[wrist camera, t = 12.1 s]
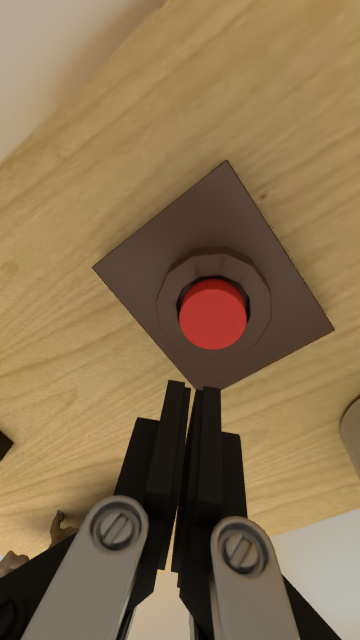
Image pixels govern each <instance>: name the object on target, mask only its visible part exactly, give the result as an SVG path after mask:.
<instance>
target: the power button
mask: <svg viewBox="0 0 360 640" xmlns="http://www.w3.org/2000/svg"><path fill="white" fill-rule="evenodd" d="M246 322H247V317H246V310H245V304H244V300H243V297H242V295H241V293H240V292H239V291H238V289H237V288H236V287H235V286H233V285H232V284H231V283H229V282H227V281H224V280H220V279H206V280H203V281H200V282H198V283H196V284H195V285H193V286H192V287H191V288H190V289H189V290H188V291H187V293H186V295H185V296H184V299H183V303H182V306H181V310H180V314H179V323H180V327H181V330H182V332H183V334H184V335H185V337H186V338H187V339H188V340H189V341H190V342H192V343H193V344H195V345H196V346H198V347H201V348H204V349H211V350H216V349H222V348H225V347H228V346H230V345H232V344H233V343H235V342H236V341H237V340H238V339H239V338H240V337H241V335H242V334H243V332H244V330H245V327H246Z"/></svg>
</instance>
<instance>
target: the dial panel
mask: <svg viewBox="0 0 360 640" xmlns="http://www.w3.org/2000/svg"><path fill="white" fill-rule="evenodd" d="M13 444H14V443H13V442H12V441H11V440H10V439H8V438H7V437H6V436H5V435H4V434H3V433H1V432H0V461H1V460H2V459H3V457H4V456H5V455H6V453H7V452H8V451H9V449H10V448H11V446H12V445H13Z"/></svg>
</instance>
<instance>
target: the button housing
mask: <svg viewBox="0 0 360 640" xmlns="http://www.w3.org/2000/svg"><path fill="white" fill-rule="evenodd" d="M92 269H93V270H94V271H95V272H96V273H97V274H98V276H99V277H100V278H101V279H102V280H103V281H104V283H105V284H106V285H107V286H108V287H109V289H110V290H111V291H112V292H113V293H114V294H115V296H116V297H117V298H118V299H119V300H120V301H121V303H122V304H123V305H124V306H125V307H126V308H127V310H128V311H129V312H130V313H131V314H132V316H133V317H134V318H135V319H136V320H137V321H138V323H139V324H140V325H141V326H142V327H143V328H144V330H145V331H146V332H147V333H148V334H149V335H150V337H151V338H152V339H153V340H154V341H155V343H156V344H157V345H158V346H159V347H160V348H161V350H162V351H163V352H164V353H165V354H166V355H167V357H168V358H169V359H170V360H171V361H172V362H173V364H174V365H175V366H176V367H177V368H178V370H179V371H180V372H181V373H182V374H183V375H184V377H185V378H186V379H187V380H188V381H189V382H190V384H191V385H192V386H193V387H194V388H195V389H199V390H202V388H203V386H209V387H214V388H220V391H221V390H223V389H225V388H226V387H228V386H230V385H232V384H234V383H236V382H238V381H240V380H242V379H243V378H245V377H247V376H249V375H251V374H253V373H255V372H257V371H259V370H261V369H262V368H264V367H266V366H268V365H270V364H272V363H274V362H276V361H278V360H279V359H281V358H283V357H285V356H287V355H289V354H291V353H293V352H295V351H297V350H298V349H300V348H302V347H304V346H306V345H308V344H310V343H312V342H314V341H315V340H317V339H319V338H321V337H323V336H325V335H327V334H329V333H331V332H333V331H334V330H335V329H334V327H333V326H332V324H331V322H330V321H329V319H328V318H327V316H326V315H325V313H324V311H323V310H322V308H321V307H320V305H319V304H318V302H317V300H316V299H315V297H314V296H313V294H312V293H311V291H310V289H309V288H308V286H307V285H306V283H305V282H304V280H303V278H302V277H301V275H300V274H299V272H298V270H297V269H296V267H295V266H294V264H293V263H292V261H291V259H290V258H289V256H288V255H287V253H286V252H285V250H284V248H283V247H282V245H281V244H280V242H279V241H278V239H277V237H276V236H275V234H274V233H273V231H272V230H271V228H270V226H269V225H268V223H267V222H266V220H265V219H264V217H263V215H262V214H261V212H260V211H259V209H258V207H257V206H256V204H255V203H254V201H253V200H252V198H251V196H250V195H249V193H248V192H247V190H246V189H245V187H244V185H243V184H242V182H241V181H240V179H239V178H238V176H237V174H236V173H235V171H234V170H233V168H232V167H231V165H230V163H229V162H228V160H225V161H224V162H223V163H221V164H220V165H219V166H218V167H216V168H215V169H214V170H213V171H211V172H210V173H209V174H208V175H206V176H205V177H204V178H203V179H201V180H200V181H199V182H198V183H196V184H195V185H194V186H193V187H191V188H190V189H189V190H188V191H186V192H185V193H184V194H183V195H181V196H180V197H179V198H178V199H176V200H175V201H174V202H173V203H171V204H170V205H169V206H168V207H166V208H165V209H164V210H163V211H161V212H160V213H159V214H158V215H156V216H155V217H154V218H153V219H151V220H150V221H149V222H148V223H146V224H145V225H144V226H143V227H141V228H140V229H139V230H138V231H136V232H135V233H134V234H133V235H131V236H130V237H129V238H128V239H126V240H125V241H124V242H123V243H121V244H120V245H119V246H118V247H116V248H115V249H114V250H113V251H111V252H110V253H109V254H108V255H106V256H105V257H104V258H103V259H101V260H100V261H99V262H98V263H96V264H95V265H94V266H93V267H92ZM206 279H220V280H224V281H227V282H229V283H231V284H232V285H233V286H235V287H236V288H237V289H238V291H239V292H240V293H241V295H242V297H243V300H244V304H245V310H246V317H247V322H246V327H245V330H244V332H243V334H242V335H241V337H240V338H239V339H238V340H237V341H236V342H235V343H233V344H232V345H230V346H228V347H225V348H222V349H216V350H211V349H204V348H201V347H198V346H196V345H195V344H193V343H192V342H190V341H189V340H188V339H187V338H186V337H185V335H184V334H183V332H182V330H181V327H180V323H179V314H180V310H181V306H182V303H183V299H184V296H185V295H186V293H187V291H188V290H189V289H190V288H191V287H192V286H193V285H195V284H196V283H198V282H200V281H203V280H206Z"/></svg>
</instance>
